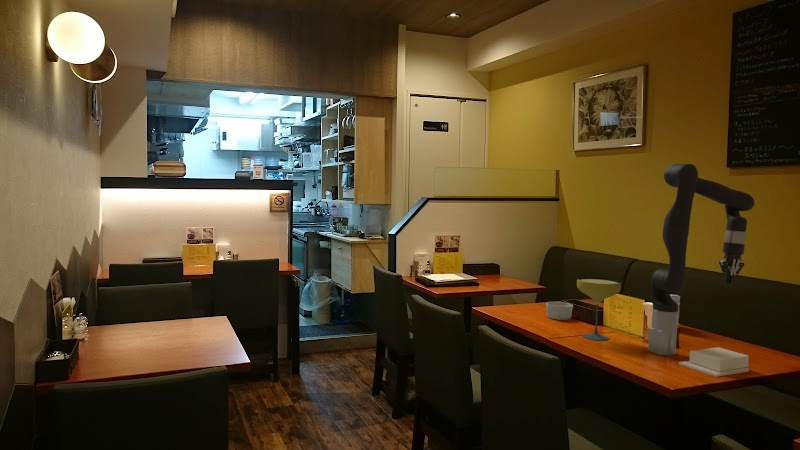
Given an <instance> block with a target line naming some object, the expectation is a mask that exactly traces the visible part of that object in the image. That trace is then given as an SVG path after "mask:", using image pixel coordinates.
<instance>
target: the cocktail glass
mask: <svg viewBox="0 0 800 450" xmlns="http://www.w3.org/2000/svg"><path fill="white" fill-rule="evenodd" d="M576 287H577V289H578V290H579V291H580V292H581V293H583V294H585V295H586V296H588V297H589V298H591V299H592V300H593V302H594V303H595V304H596V309H595V310H596V311H595V312H596V313H595V324H594V325H595V327H594V331H593V333H584V334H582V337H583V338H584V339H586V340H590V341H597V342H600V341H601V342H602V341H603V342H604V341H608V340H609V339H610V338H609V336H606V335H603V334H599V333H598V318H599V317H598V316H599V313H598V312H599V304H601V303H602V302H603V301H604V300H605V299H607V298H611V297H613V296H615V295H617V294H619V293H620V291H621V290H622V283H621V281H619V280H617V279H611V278H603V277H592V276H591V277H588V276H586V277H578V278H577V280H576Z"/></svg>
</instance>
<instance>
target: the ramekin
mask: <svg viewBox="0 0 800 450" xmlns="http://www.w3.org/2000/svg"><path fill="white" fill-rule="evenodd" d="M545 306H546V310H545V311H546V316H547V318H549V319H551V320H559V321H567V320H570V319H571V318H572V313H573V309H574V305H573V304H571V303H569V302H568V303H567V302H562V301H548V302H545Z"/></svg>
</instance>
